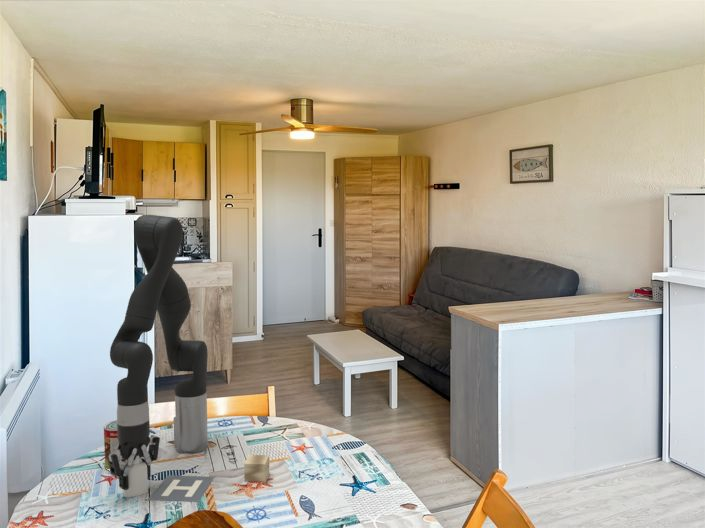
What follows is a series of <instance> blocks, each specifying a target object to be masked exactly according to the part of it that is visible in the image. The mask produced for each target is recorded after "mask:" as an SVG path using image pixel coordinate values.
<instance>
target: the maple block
mask: <svg viewBox="0 0 705 528" xmlns="http://www.w3.org/2000/svg"><path fill="white" fill-rule="evenodd" d="M243 467H244V468H243V469H244V470H243V473H244V476H243V477H244V482H259V483H262V485H265V484H266V483H267V480H268V478H269V476H270V454H269V455H268V454H248V456H247V458H246V460H245V462H244V464H243Z"/></svg>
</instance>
